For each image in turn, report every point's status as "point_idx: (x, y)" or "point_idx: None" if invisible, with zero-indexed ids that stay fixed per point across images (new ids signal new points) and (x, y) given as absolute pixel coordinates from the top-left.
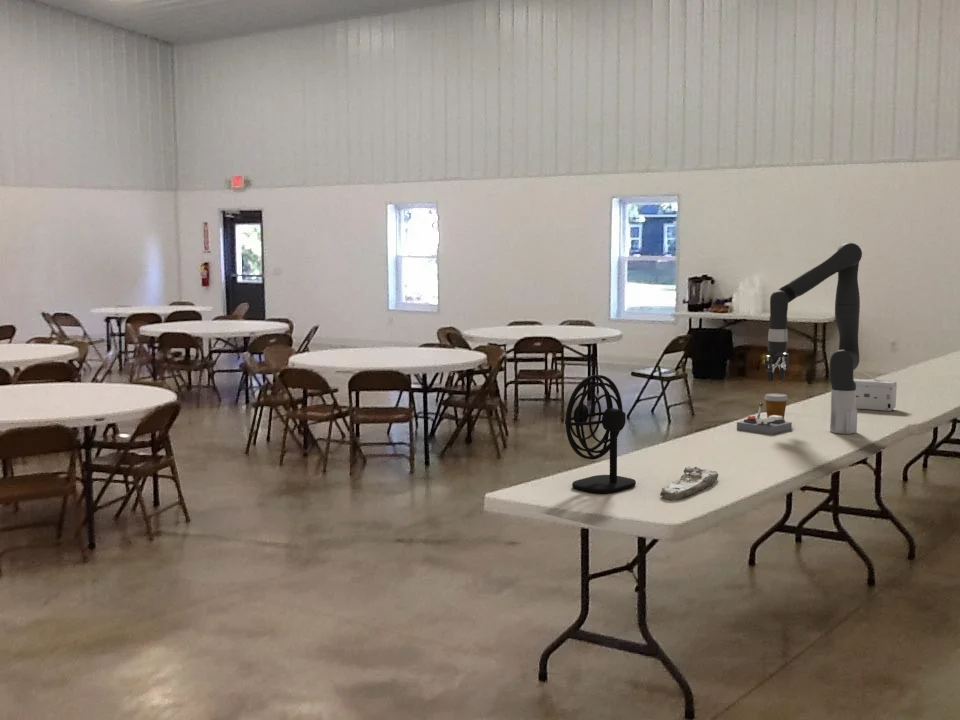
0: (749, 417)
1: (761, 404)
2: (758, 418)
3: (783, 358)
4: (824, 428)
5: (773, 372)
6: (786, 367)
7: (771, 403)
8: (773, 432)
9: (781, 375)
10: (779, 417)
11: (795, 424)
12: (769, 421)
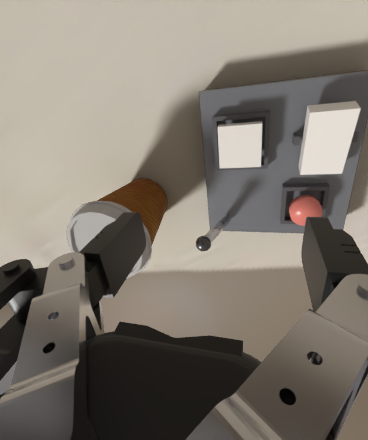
0: (321, 211)
1: (208, 240)
2: (228, 216)
3: (20, 419)
4: (86, 20)
5: (338, 269)
6: (31, 271)
7: (151, 230)
8: (351, 72)
9: (129, 244)
10: (243, 124)
11: (116, 146)
12: (355, 103)
